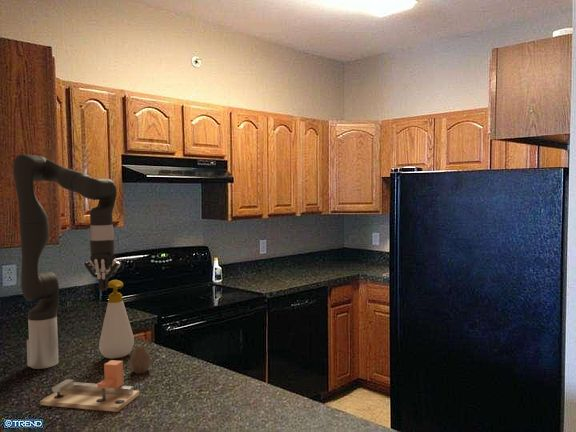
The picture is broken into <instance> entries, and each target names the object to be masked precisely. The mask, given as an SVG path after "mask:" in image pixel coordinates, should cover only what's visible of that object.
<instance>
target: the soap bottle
mask: <svg viewBox="0 0 576 432" xmlns="http://www.w3.org/2000/svg"><path fill="white" fill-rule="evenodd" d="M123 287H124V283H123V281H121V280H118V279H112V280H110V281H108V288H107V289H109V288H110V289H112V290H113V291H112V293H110V294H108V302H107V306H106V311H105V314H104V319H103V324H102V328H101V333H100V337H99V338H100V339H99V342H98V350H99V351H100V354H101V355H102V356H103V357H104V358H106V359H110V360H113V359H120V358H124V357H126V356H127V355H129V354H130V353H131V351H132V350H133V348H134V345H135V337H134V334H133V330H132V327H131V326H132V325H131V324H130V320H129V317H128V313H127V310H126V307H125V303H124V301H123V294H122V293H121V292H118V290H119V289H122V288H123Z"/></svg>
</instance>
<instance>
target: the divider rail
mask: <svg viewBox="0 0 576 432" xmlns="http://www.w3.org/2000/svg"><path fill="white" fill-rule="evenodd" d="M97 384H98V383H92V382H78V381H74V379H69V378H67V379H64V380H63V381H61V382H59V383H57V384H55V385H54V386H53V387H51V389H52V390H51V391H52V392H53V393H54V392H57V397H60V391H62V390H64V391H77V392H89V393H102V388H98V385H97ZM133 390H134V386H131V385H121V386H120V387H118V388H105V394H114V395H126V396H130V395H131V394H133Z"/></svg>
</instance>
